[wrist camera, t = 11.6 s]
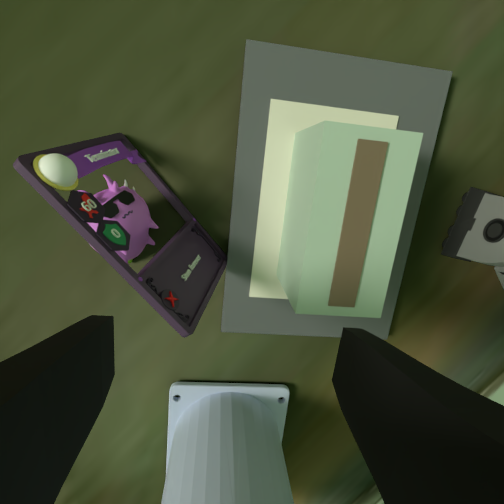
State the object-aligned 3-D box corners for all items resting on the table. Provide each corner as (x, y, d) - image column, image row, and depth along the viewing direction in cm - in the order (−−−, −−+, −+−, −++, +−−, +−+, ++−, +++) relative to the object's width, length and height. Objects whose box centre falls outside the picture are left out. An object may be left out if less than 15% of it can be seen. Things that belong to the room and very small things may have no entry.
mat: (382, 334, 21) (387, 340, 21) (221, 326, 20) (221, 332, 19) (444, 74, 17) (454, 71, 16) (245, 44, 16) (246, 38, 15)
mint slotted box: (366, 141, 17) (424, 132, 12) (340, 279, 19) (381, 319, 14) (294, 133, 16) (326, 120, 12) (276, 275, 19) (296, 314, 14)
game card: (204, 329, 13) (24, 142, 10) (125, 371, 15) (-38, 225, 12) (238, 253, 18) (130, 122, 16) (179, 290, 21) (75, 181, 18)
